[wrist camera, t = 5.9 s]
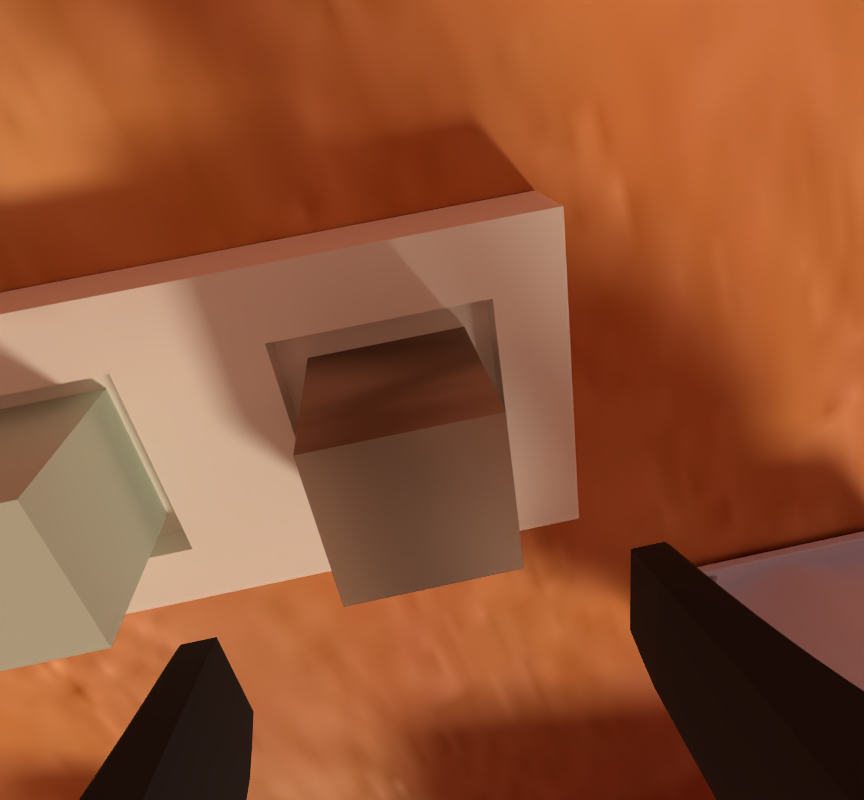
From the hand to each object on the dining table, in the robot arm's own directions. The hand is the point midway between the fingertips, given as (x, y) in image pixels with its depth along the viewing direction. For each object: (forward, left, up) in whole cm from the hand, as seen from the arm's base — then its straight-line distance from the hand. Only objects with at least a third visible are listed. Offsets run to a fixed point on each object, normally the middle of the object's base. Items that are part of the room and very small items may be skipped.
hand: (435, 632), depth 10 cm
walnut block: (0, 0, -8) cm, 8 cm away
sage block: (+10, 0, -8) cm, 13 cm away
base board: (+5, 0, -10) cm, 11 cm away
